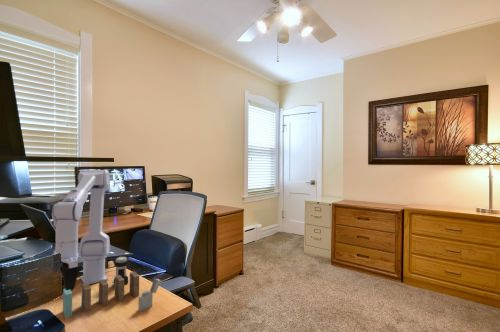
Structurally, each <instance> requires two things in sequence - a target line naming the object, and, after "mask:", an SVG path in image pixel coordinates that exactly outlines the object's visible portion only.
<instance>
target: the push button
mask: <svg viewBox="0 0 500 332" xmlns="http://www.w3.org/2000/svg"><path fill="white" fill-rule="evenodd" d="M129 262H130V261H129V258H127V257H126V256H120V257H117V258H116V259H115V260H113V265H114V267H115V276H118V275H120V276H121V277H122V278H123V279H124V285H128V283H129V276H127V266H128V265H129ZM113 286H114V287H115V277H114V278H113V281H112V282H109V284H108V287H113Z"/></svg>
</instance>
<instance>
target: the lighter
mask: <svg viewBox="0 0 500 332" xmlns="http://www.w3.org/2000/svg"><path fill="white" fill-rule="evenodd" d="M160 283H161V279H159V278H154V279H153V281H152V285H151V287H150V290H148V289H146V290H144V291H142V294H141V295H140V294H139V296H138V306H137V307H138V311H140V312H143V311H146V310H147V309H149V308H152V307H153V294H156V293H157V291H158V288H159V286H160Z"/></svg>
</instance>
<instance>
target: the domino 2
mask: <svg viewBox="0 0 500 332" xmlns="http://www.w3.org/2000/svg"><path fill="white" fill-rule="evenodd" d="M129 293H130V294H131V295H132V296H133V297H134V298H135V297H139V296H140V275H139V274H138V273H137V272H136V271H130V272H129Z"/></svg>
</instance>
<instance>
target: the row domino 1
mask: <svg viewBox="0 0 500 332" xmlns="http://www.w3.org/2000/svg"><path fill="white" fill-rule="evenodd" d="M91 294H92V287H91V286H90V284H88V283H85V284H84V283H81V307H82V310H83V311H84V313H87V312H90V311H91V309H92V308H91V307H92V301H91V300H92V295H91Z"/></svg>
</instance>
